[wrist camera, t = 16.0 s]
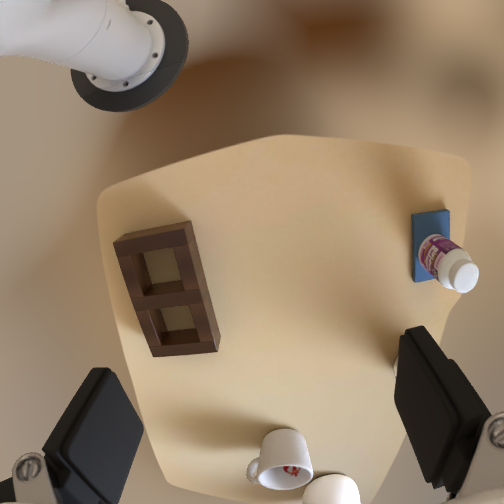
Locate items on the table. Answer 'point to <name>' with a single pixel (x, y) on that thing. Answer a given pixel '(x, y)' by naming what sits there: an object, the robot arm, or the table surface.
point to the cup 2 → (332, 491)
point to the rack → (169, 290)
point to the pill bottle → (448, 263)
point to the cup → (282, 461)
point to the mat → (421, 230)
